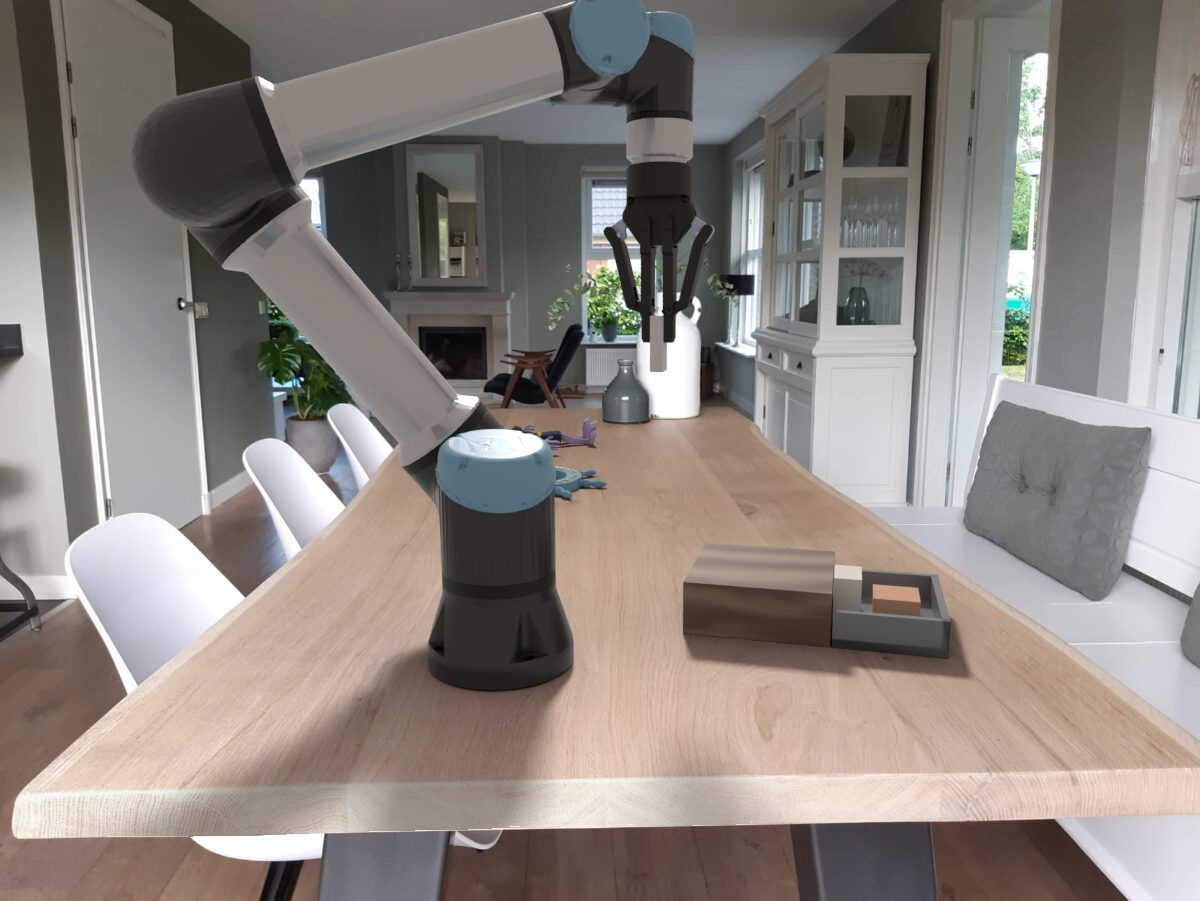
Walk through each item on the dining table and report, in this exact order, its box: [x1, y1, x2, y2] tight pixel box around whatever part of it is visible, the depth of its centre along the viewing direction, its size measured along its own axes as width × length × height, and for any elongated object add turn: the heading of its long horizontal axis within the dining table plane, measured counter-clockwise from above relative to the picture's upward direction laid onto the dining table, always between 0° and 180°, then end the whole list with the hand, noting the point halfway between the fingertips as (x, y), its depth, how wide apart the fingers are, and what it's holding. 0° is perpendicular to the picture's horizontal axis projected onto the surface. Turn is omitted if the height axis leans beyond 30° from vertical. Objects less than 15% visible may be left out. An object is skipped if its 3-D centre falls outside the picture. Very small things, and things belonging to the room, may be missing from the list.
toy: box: [499, 416, 598, 452], centre depth 219 cm, size 26×9×30 cm
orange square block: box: [872, 584, 921, 617], centre depth 104 cm, size 5×5×3 cm
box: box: [831, 568, 952, 659], centre depth 104 cm, size 16×12×4 cm
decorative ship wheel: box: [554, 465, 608, 499], centre depth 178 cm, size 30×3×30 cm
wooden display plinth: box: [682, 542, 836, 648], centre depth 108 cm, size 16×16×6 cm
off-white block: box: [832, 564, 863, 612], centre depth 105 cm, size 5×5×3 cm
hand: (658, 370), depth 108 cm, fingers closed
